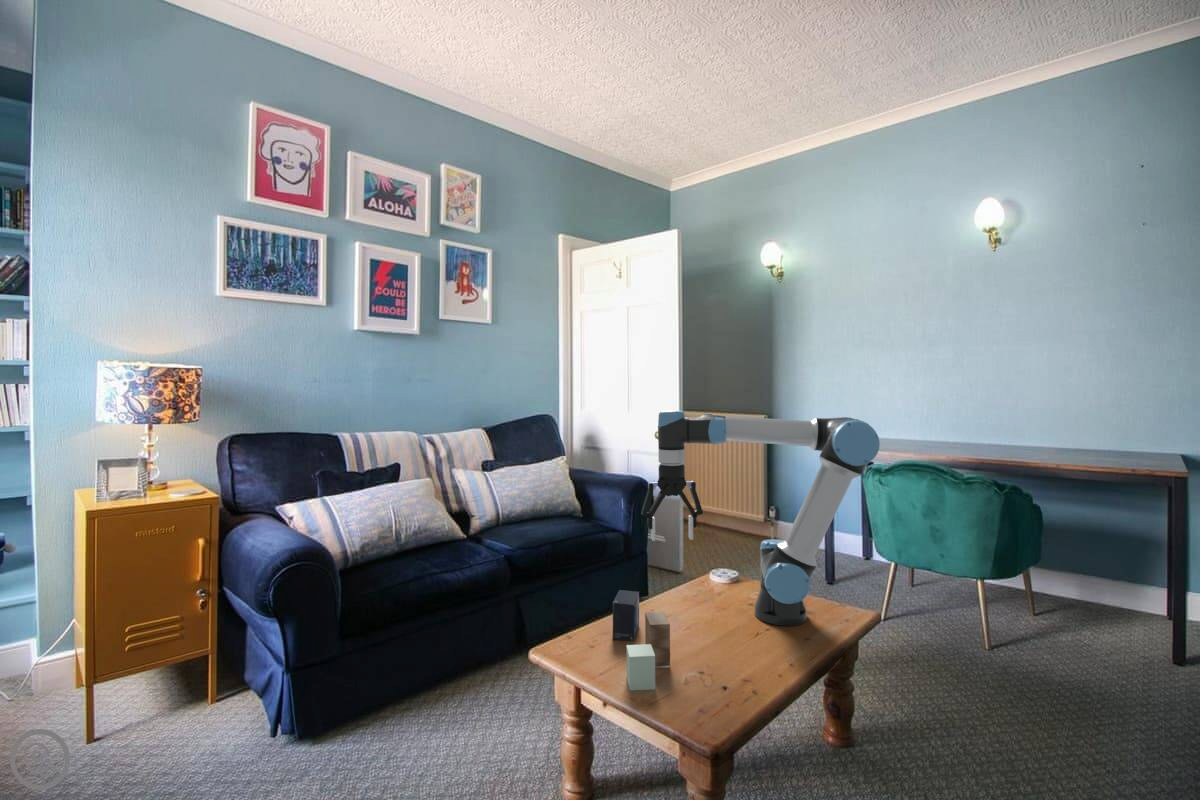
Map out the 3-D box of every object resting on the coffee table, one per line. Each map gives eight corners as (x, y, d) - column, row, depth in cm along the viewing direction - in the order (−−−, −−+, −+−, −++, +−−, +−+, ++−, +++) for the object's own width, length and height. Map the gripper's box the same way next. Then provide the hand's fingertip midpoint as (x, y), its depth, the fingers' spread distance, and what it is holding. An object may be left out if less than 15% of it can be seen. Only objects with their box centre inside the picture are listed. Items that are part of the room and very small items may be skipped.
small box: (635, 641, 161) (634, 604, 161) (611, 639, 162) (611, 602, 162) (640, 626, 171) (639, 590, 171) (618, 624, 173) (618, 589, 172)
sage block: (651, 676, 142) (650, 644, 142) (655, 689, 136) (655, 655, 136) (626, 677, 142) (626, 645, 141) (629, 690, 136) (629, 656, 135)
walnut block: (664, 652, 154) (663, 611, 154) (670, 667, 146) (669, 624, 146) (645, 653, 154) (645, 612, 154) (650, 668, 146) (650, 624, 146)
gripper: (706, 460, 174) (707, 534, 174) (630, 462, 172) (631, 537, 173) (713, 464, 166) (714, 541, 167) (634, 466, 164) (634, 544, 165)
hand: (672, 539), depth 170 cm, fingers open, 10 cm apart
